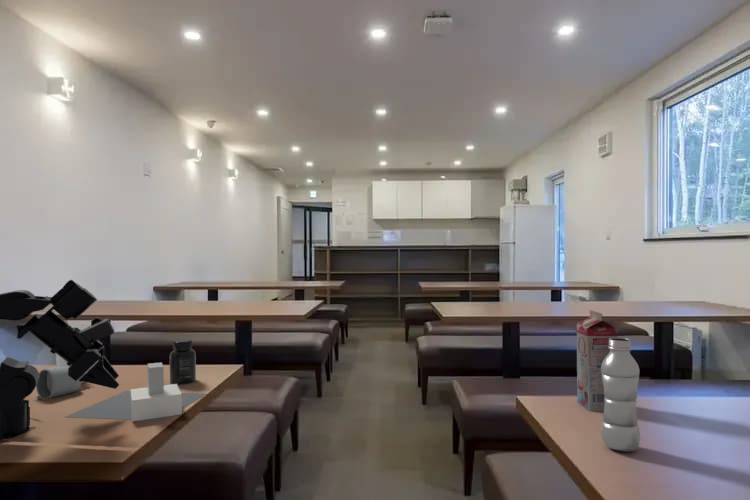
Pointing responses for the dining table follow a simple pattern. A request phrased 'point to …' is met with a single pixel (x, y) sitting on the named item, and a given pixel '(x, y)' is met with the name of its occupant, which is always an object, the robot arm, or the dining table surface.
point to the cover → (155, 397)
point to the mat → (124, 407)
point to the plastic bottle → (620, 397)
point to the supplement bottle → (182, 363)
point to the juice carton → (592, 360)
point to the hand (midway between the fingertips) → (117, 381)
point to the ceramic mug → (56, 383)
